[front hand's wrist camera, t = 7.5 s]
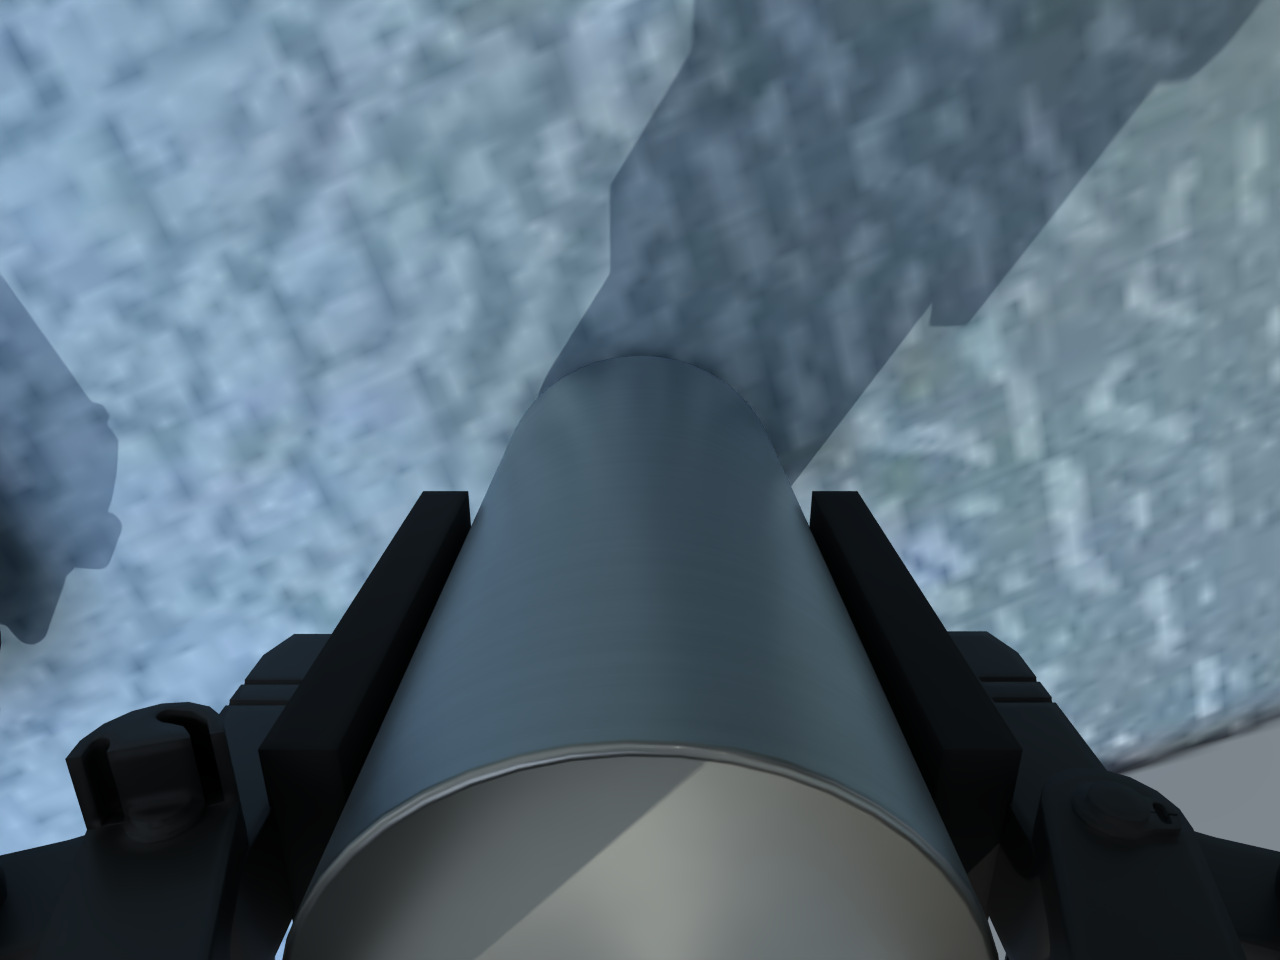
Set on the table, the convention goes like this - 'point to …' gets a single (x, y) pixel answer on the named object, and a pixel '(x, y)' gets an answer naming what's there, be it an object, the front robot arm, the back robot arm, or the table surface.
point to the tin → (640, 721)
